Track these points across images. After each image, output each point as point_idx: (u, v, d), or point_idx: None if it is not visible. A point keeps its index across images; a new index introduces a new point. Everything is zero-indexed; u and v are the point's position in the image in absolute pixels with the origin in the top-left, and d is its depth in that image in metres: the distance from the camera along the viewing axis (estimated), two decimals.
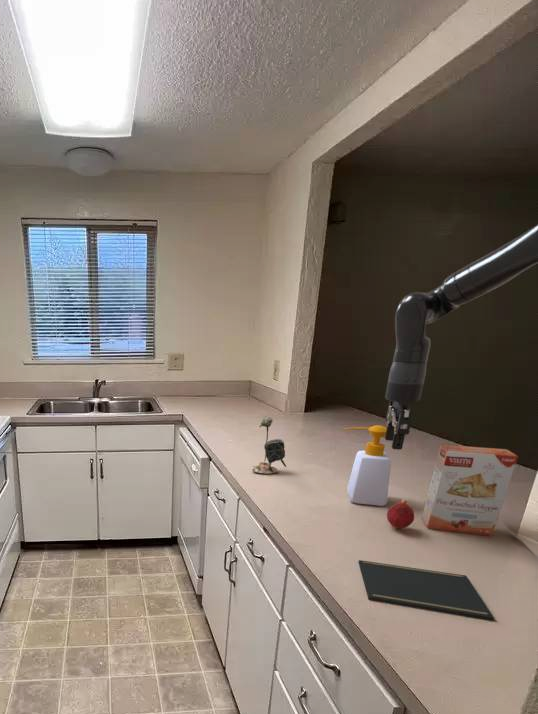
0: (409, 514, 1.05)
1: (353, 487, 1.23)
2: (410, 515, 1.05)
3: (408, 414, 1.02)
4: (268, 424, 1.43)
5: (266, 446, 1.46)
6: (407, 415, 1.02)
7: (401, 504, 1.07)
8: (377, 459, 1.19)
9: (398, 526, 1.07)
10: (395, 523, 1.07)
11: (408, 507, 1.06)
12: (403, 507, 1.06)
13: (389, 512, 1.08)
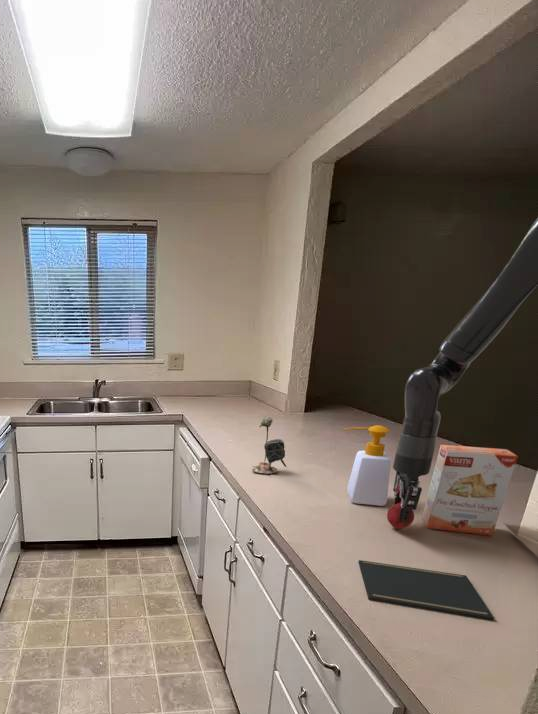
0: None
1: (353, 487, 1.23)
2: None
3: (416, 492, 0.99)
4: (268, 424, 1.43)
5: (266, 446, 1.46)
6: (415, 493, 0.99)
7: None
8: (377, 459, 1.19)
9: (398, 526, 1.07)
10: (395, 523, 1.07)
11: None
12: None
13: (389, 512, 1.08)
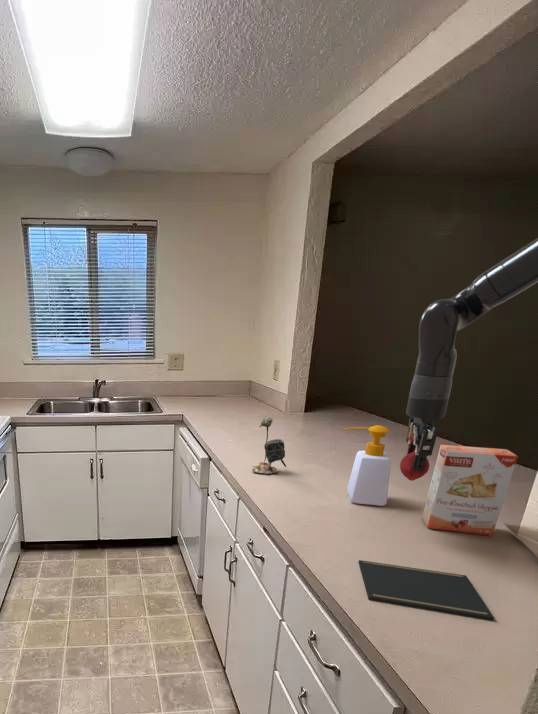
0: None
1: (353, 487, 1.23)
2: (425, 463, 1.00)
3: (432, 436, 0.93)
4: (268, 424, 1.43)
5: (266, 446, 1.46)
6: (431, 437, 0.93)
7: None
8: (377, 459, 1.19)
9: (412, 476, 1.01)
10: (409, 473, 1.01)
11: None
12: None
13: (402, 462, 1.02)
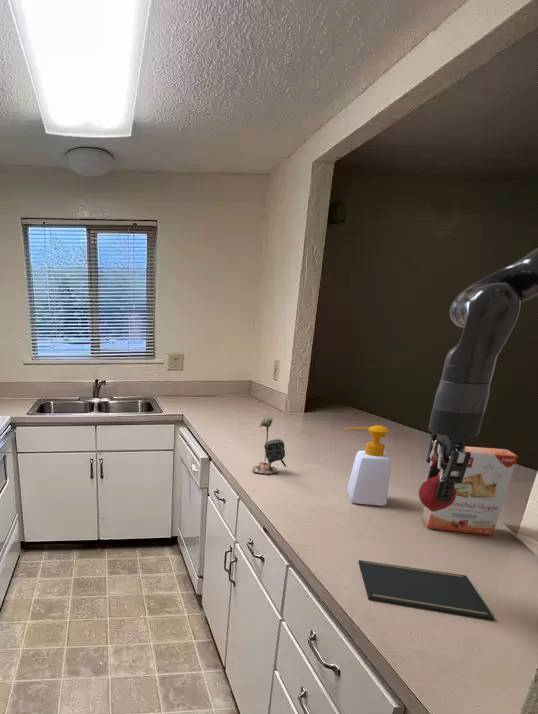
0: None
1: (353, 487, 1.23)
2: (452, 492, 0.80)
3: (463, 459, 0.73)
4: (268, 424, 1.43)
5: (266, 446, 1.46)
6: (462, 460, 0.73)
7: None
8: (377, 459, 1.19)
9: (434, 507, 0.81)
10: (431, 503, 0.81)
11: None
12: None
13: (422, 489, 0.82)
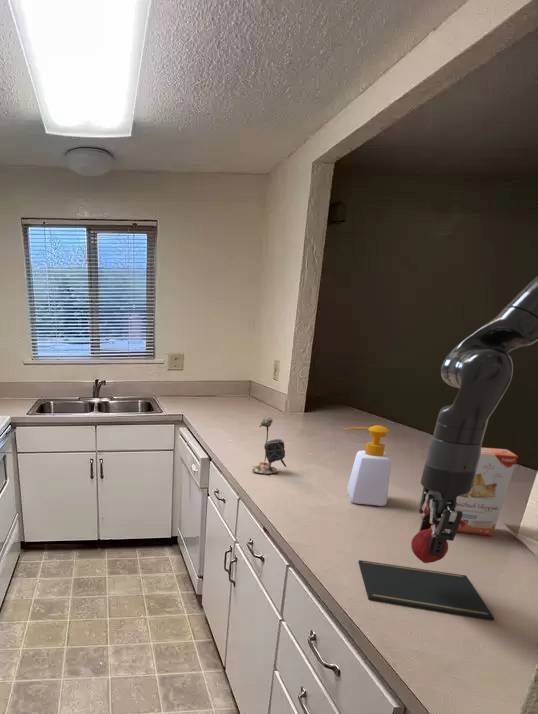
0: None
1: (353, 487, 1.23)
2: None
3: (455, 518, 0.74)
4: (268, 424, 1.43)
5: (266, 446, 1.46)
6: (453, 519, 0.74)
7: (431, 531, 0.81)
8: (377, 459, 1.19)
9: (427, 560, 0.82)
10: (423, 556, 0.81)
11: None
12: None
13: (415, 541, 0.83)
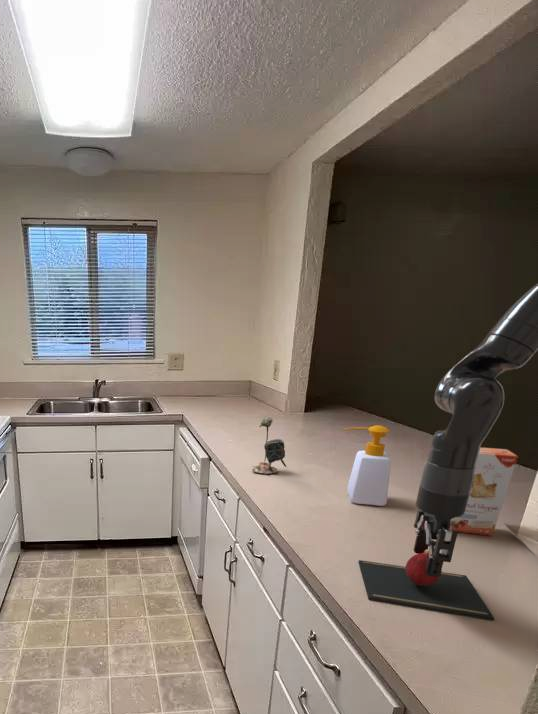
0: None
1: (353, 487, 1.23)
2: None
3: (450, 537, 0.75)
4: (268, 424, 1.43)
5: (266, 446, 1.46)
6: (449, 539, 0.75)
7: (425, 556, 0.83)
8: (377, 459, 1.19)
9: (421, 583, 0.83)
10: (417, 580, 0.83)
11: None
12: None
13: (409, 565, 0.85)
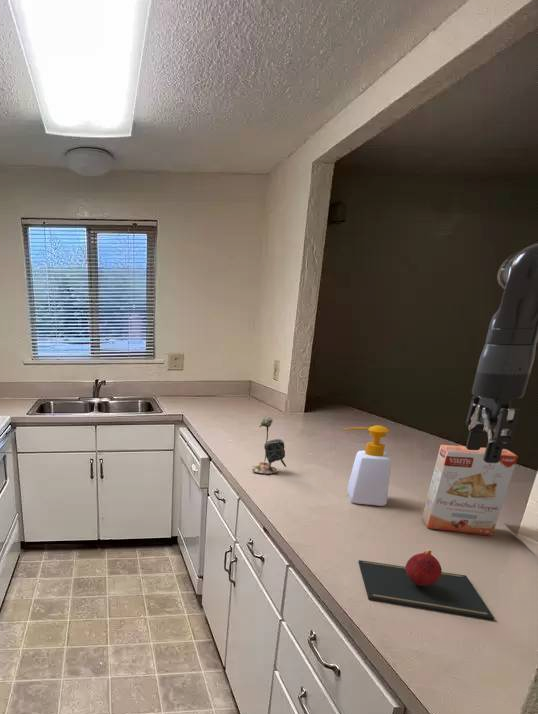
0: (435, 569, 0.82)
1: (353, 487, 1.23)
2: (437, 570, 0.82)
3: (513, 415, 0.74)
4: (268, 424, 1.43)
5: (266, 446, 1.46)
6: (511, 417, 0.74)
7: (425, 556, 0.83)
8: (377, 459, 1.19)
9: (421, 583, 0.83)
10: (417, 580, 0.83)
11: (434, 560, 0.82)
12: (428, 560, 0.82)
13: (409, 565, 0.85)
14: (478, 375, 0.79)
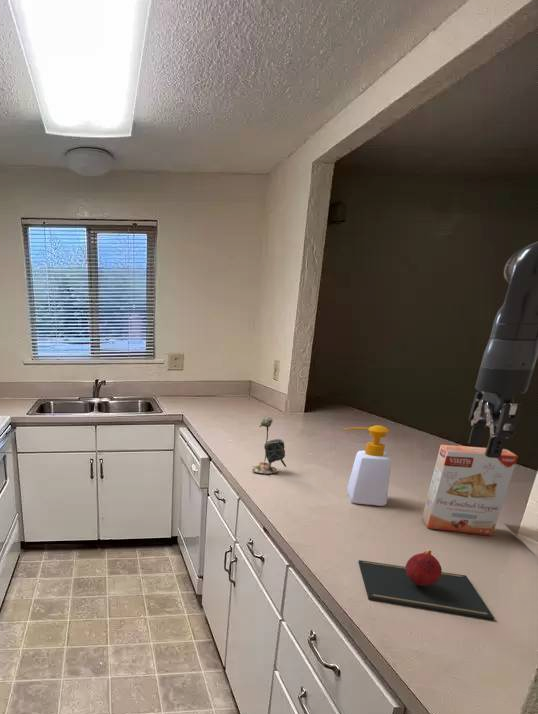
0: (435, 569, 0.82)
1: (353, 487, 1.23)
2: (437, 570, 0.82)
3: (515, 410, 0.75)
4: (268, 424, 1.43)
5: (266, 446, 1.46)
6: (514, 412, 0.75)
7: (425, 556, 0.83)
8: (377, 459, 1.19)
9: (421, 583, 0.83)
10: (417, 580, 0.83)
11: (434, 560, 0.82)
12: (428, 560, 0.82)
13: (409, 565, 0.85)
14: (482, 370, 0.80)
